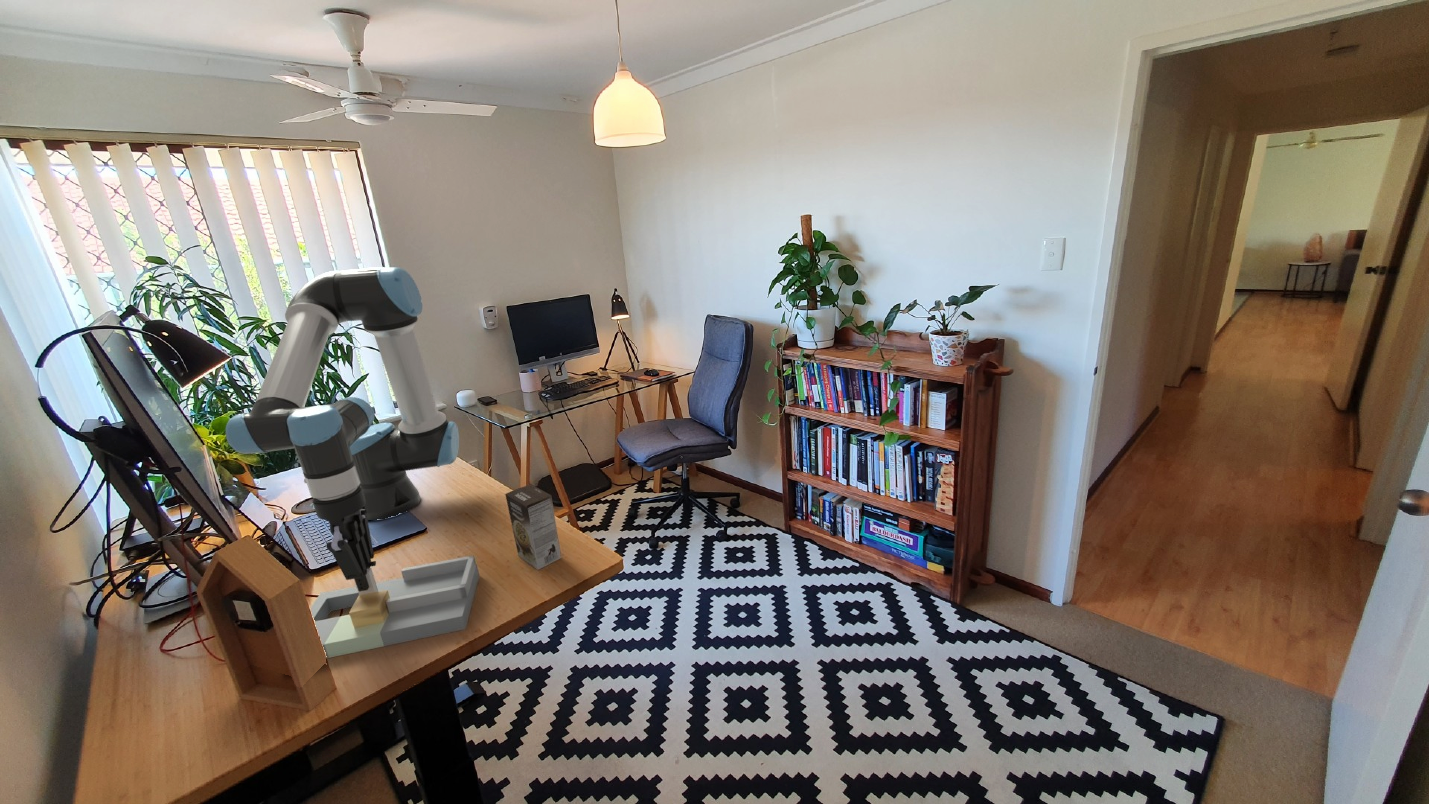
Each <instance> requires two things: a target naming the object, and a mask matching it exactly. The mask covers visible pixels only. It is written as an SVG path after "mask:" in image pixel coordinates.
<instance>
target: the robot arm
mask: <svg viewBox="0 0 1429 804" xmlns="http://www.w3.org/2000/svg"><path fill="white" fill-rule="evenodd" d="M421 300H422V296H421V293H420V290H419V288H418V286H417V284H416V282H415V280H414V278H413V277H412V275H411V274H410V273H409V272H408V271H406V270H405V269H403V268H401V267H399V266H398V267H397V266H394V267H391V266H390V267H387V266H386V267H385V266H378V267H377V266H376V267H367V268H365V267H364V268H358V269H355V268H354V269H346V270H345V269H344V270H331V271H328V272H327V271H326V272H325V273H322V274H319V275H317V276H315V277H314V278H312V279H310V280H309V281H308V282H307V283H306V284H305V285H302V287H301V288H300V289H299V290H298V291H297V293H295V294H294V296H293V297H292V299H291V300H290V302H289V304H288V306H287V308H286V311H285V313H284V317H285V320H286V322H287V323H286V326H285V328H284V331H283V333H282V336H281V338H280V340H279V343H278V345H277V348H276V350H275V352H274V356H273V358H272V360H271V363H270V366H269V367H268V370H267V372H266V375H265V377H264V380H263V382H262V385H261V387H260V390H259V392H258V394H257V397H256V400H255V402H254V404H253V405H252V408H251V410H250V412H242V413H241V414H240V413H239V414H235V415H233V416H232V417H231V418H230V419H228V421H227V423H226V426H225V438H226V440H227V443H228V444H229V446H230V447H231V448H232V449H233V450H234V451H235V452H237V453H239V454H246V455H247V454H248V455H249V454H262V453H263V454H265V453H269V452H275V451H284V450H291V449H294V451H295V454H296V456H297V459H298V461H299V462H298V463H299V464H300V467H301V470H302V474H303V477H304V480H303V482H304V484H306V485H307V488H308V489H307V490H308V491H309V495H310V497H311V498H313V499H312V504H313V507H314V510H315V513H316V516H317V518H318V519H320V520H323V521H327V522H328V523H329V529H330V533H331V534H332V535H333V536H332V541H327V543H326V549H327V550H328V551H329V552H331V554H332V556H333V557H334V560H335V561H336V563H337V566H338V567H339V569H340V571H341V573H342V574H343V577H344V578H345V580H346V581H349V580H350V581H351V580H354V584H355V586H356V587H357V590H358V593H359V595H364V594H369V593H374V592H379V591H378V588H377V585H376V583H377V581H376V579H375V576H374V572H373V570H372V568H371V567H375V566H376V565H377V561H376V560H374V561H372V559H374V558H375V554H374V549H373V547H374V546H373V541H372V537H371V532H370V526H369V521H368V520H377V519H384V520H386V519H385V518H388V517H391V516H396V515H398V514H399V513H403V514H405V513H404V512H406V511H408V512H409V511H411V510H413V509H414V508H415V507H417V506H418V505H419V504H420V501H421V495H420V491H419V490H418V488H417V487H416V486H415V484H414V483H413V482H412V480H411V478H409V476H408V475H407V472H408V471H415V470H421V469H429V468H436V467H437V468H439V467H443V466H448V465H452V464H453V463H454V462H455V461H456V459H457V458H458V454H459V447H460V436H459V435H460V434H459V433H460V432H459V427H458V424H457V423H456V422H455V421H448V419H447V415H446V414H445V413H444V412H442V411H439V409H438V406H437V404H436V399H435V398H434V397H435V396H434V393H433V389H432V387H431V383H430V380H429V377H428V372H427V369H426V366H425V363H424V359H423V357H422V356H423V355H422V352H421V350H420V346H419V342H418V338H417V336H416V333H415V329H414V327H415V326H416V324H418V321H419V318H418V316H419V315H420V314H421V313H422V312H423V303H422V301H421ZM357 321H361V323H362V326H363V328H364V331H366V332H368V333H370V334H372V335H373V336H374V338H375V342H376V346H377V349H378V351H379V354H380V357H381V360H382V362H383V366H384V369H385V372H386V375H387V379H388V381H389V384H390V387H391V390H392V393H393V395H394V399H395V402H396V404H397V408H398V411H399V413H400V416H401V421H400V422H399V423H398V426H397V428H396V427H395V425H394V424H393V423H392V422H387V421H386V422H381V423H376V424H373V423H374V420H375V412H374V410H373V408H372V406H371V405H370V404H369V403H368V401H366V400H364V399H362V398H359V397H357V396H356V397H354V396H348V397H345V398H342V399H338V400H337V401H335V402H334V403H331V404H330V403H329V404H322V405H321V404H320V405H314V406H312V405H311V406H306V404H307V401H308V400H307V399H308V397H309V395H310V391H311V388H312V385H313V383H314V379H315V376H316V374H317V371H318V368H319V365H320V363H321V358H322V356H323V353H324V351H325V348H326V344H327V341H328V338H329V336H331V335H332V334H334V333H335V332H336V331H337V329H338V326H339V324H342V323H346V322H357ZM406 513H407V512H406ZM398 516H399V515H398ZM396 517H397V516H396Z"/></svg>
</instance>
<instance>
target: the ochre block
mask: <svg viewBox="0 0 1429 804" xmlns="http://www.w3.org/2000/svg"><path fill="white" fill-rule="evenodd" d="M389 598H390V596H389V593H388V590H385V591H380V592H374V593H369V594H364V595H359V596H358V598H357V600H356V601H355V603H354V605H353V607H350V610H349V611H348V613H349V614H348V615H350V617H351V620H352V623H353V626H354V628H358V627H363V626H368V625H373V624H378V623H383V622H384V621H385V619H386V617H387V615H388V613H389V611H388V607H387V604H386V601H387V599H389Z"/></svg>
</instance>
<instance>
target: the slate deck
mask: <svg viewBox="0 0 1429 804" xmlns="http://www.w3.org/2000/svg"><path fill="white" fill-rule="evenodd" d="M478 567H479V566H478V564H477V562H476V557H475V554H474V555H469V556H464V557H458V558H452V559H446V560H441V561H437V562H430V563H423V564H418V565H414V566H410V567H409V566H408V567H403V568H402V569H401V571H400V572H401V575H402V577H399V578H394V579H393V578H392V579H388V580H381V581H378V582H377V581H376V585H377V588H378V591H379V592H380V591H385V590H388V593H389V596H390V598H389V599H387V601H386V604H387V607H388V611H389V613H388V615H387V617H386V619H385V621H384V622H383V623H378V624H373V625H368V626H363V627H358V628H354V626H353V623H352V620H351V617H350V614H346V615H341V616H335V617H332V618H328V616H329V615H330V613H331V612H332V611H338V610H342V609H347V608H352V607H353V605H354V603H355V601H356V600H357V598H358V596H359V593H358V590H357V587H356V585H355V586H349V587H345V588H340V589H336V590H330V591H322V592H320V593H319V595H318V596H317V598H315V601H314V602H313V604H312V605H311V607H310V608H311V612H312V616H313V618H314V620H315V625H316V628H317V630H318V634H319V636H320V638H321V643H322V645H323V647H324V650H325V652H326V656H327V658H326V659H328V658H333V657H339V656H344V655H348V654H353V653H358V652H363V651H368V650H373V649H377V648H382V647H387V646H392V645H397V644H401V643H406V642H410V641H416V640H420V639H425V638H430V637H435V636H438V635H439V636H440V635H445V634H448V633H454V632H459V631H464V630H466V628H467V625H468V621H469V618H470V613H471V610H472V606H473V603H474V602H473V601H474V598H475V594H476V590H477V587H478V583H479V579H480V573H479V568H478Z"/></svg>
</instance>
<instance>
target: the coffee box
mask: <svg viewBox="0 0 1429 804" xmlns="http://www.w3.org/2000/svg"><path fill="white" fill-rule="evenodd" d="M504 496H505V498H506V503H507V509H508V512H509V517H510V523H511V527H512V532H513V537H514V542H515V546H516V547H515V548H516V551H517V556H518V557H520V558H521V559H522V560H523V561H525V562H526V563H528V564H529V565H530V566H531V567H533V568H535V569H536V570H537V571H538V570H541V569H543V568H545V567H546V566H548V565H550V564H552V563H555V562H556V561H559V560H560V559H561V558H562V554H561V546H560V540H559V534H558V528H557V521H556V516H555V510H554V504H553V499H552V495H551V494H549V492H546V491H545V490H543V489H540V488H538V487H537V486H535V485H533V484H531V483H530V484H527V485H525V486H522V487H519V488H516V489H513V490H512V491H509V492H506V493H504Z"/></svg>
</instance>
